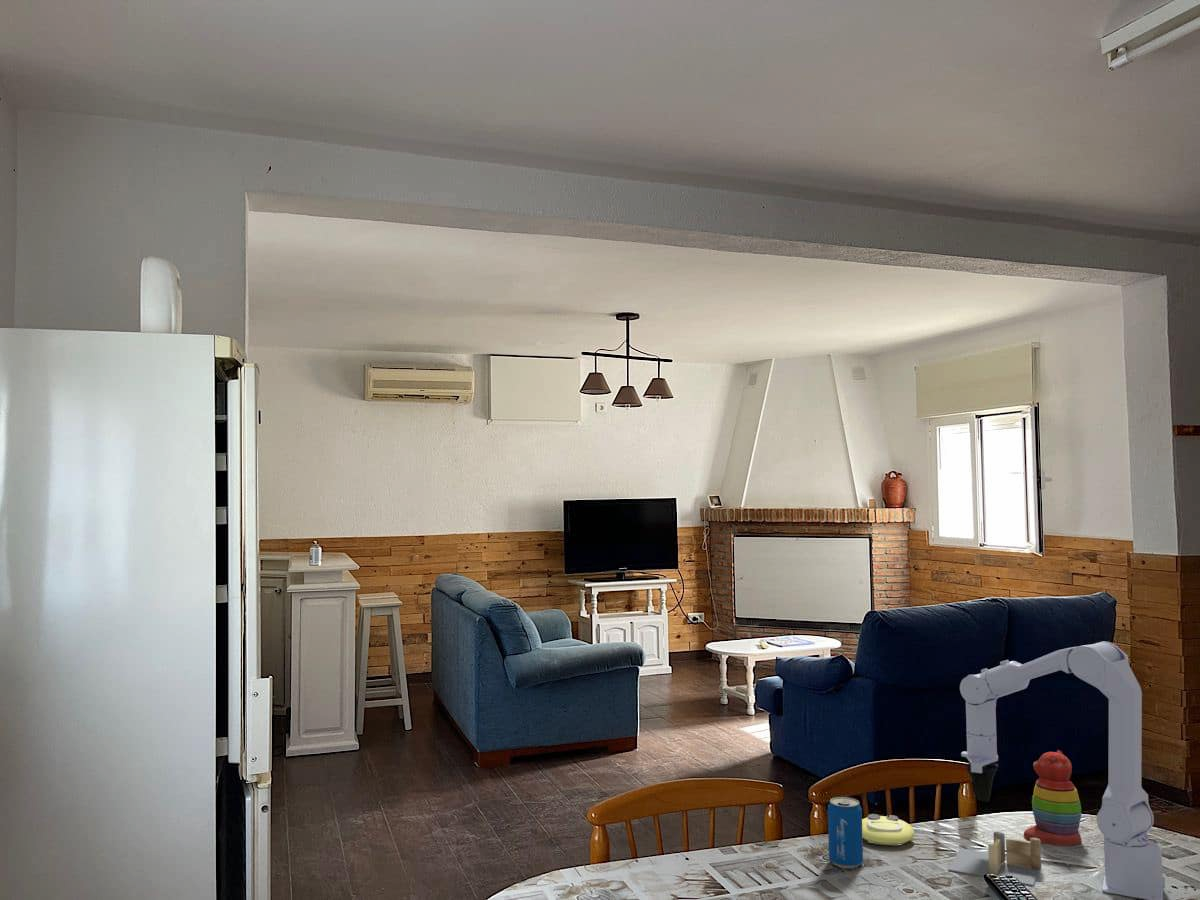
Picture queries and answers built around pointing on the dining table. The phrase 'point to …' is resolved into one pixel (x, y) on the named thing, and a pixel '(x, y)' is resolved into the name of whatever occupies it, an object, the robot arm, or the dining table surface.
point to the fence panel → (996, 852)
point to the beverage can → (845, 832)
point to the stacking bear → (1055, 802)
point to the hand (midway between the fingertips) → (983, 800)
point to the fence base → (1024, 853)
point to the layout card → (979, 866)
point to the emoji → (886, 830)
